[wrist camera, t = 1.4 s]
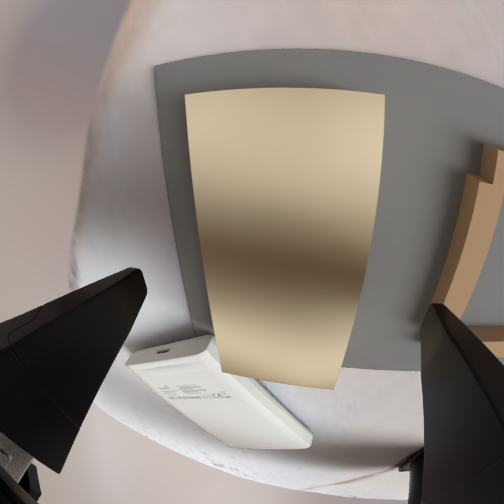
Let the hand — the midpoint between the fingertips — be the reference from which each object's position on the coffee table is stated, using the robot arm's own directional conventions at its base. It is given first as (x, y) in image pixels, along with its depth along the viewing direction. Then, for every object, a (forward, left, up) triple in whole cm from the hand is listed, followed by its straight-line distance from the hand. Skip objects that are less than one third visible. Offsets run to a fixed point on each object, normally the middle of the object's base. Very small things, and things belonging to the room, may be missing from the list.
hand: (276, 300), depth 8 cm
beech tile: (0, 0, -3) cm, 3 cm away
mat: (0, -9, -4) cm, 10 cm away
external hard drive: (-13, +4, -4) cm, 14 cm away
